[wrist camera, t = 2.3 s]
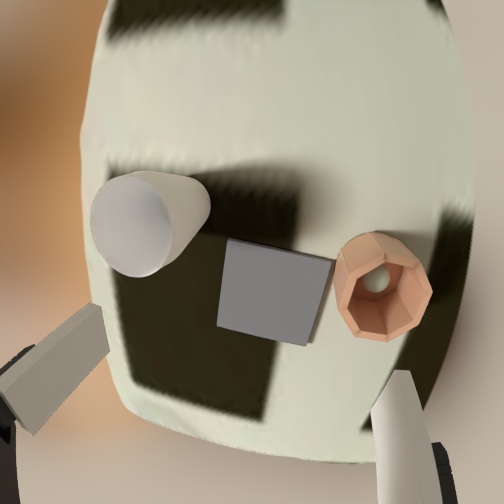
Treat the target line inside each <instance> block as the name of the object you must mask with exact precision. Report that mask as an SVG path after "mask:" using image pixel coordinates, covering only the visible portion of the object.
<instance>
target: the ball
mask: <svg viewBox="0 0 504 504" xmlns="http://www.w3.org/2000/svg"><path fill="white" fill-rule="evenodd" d="M389 281H390V274H389V271H388V269H387V268H386V267H385V266H384V265H382V264H381V265H379V266H378V267H376V268H374V269H373V270H371V271H369V272H368V273H366V274H364V275H363V276H362V283H363V285H364V287H365V288H366V289H367V290H369V291H371V292H381V291H383V290H384V289H385V288H386V287H387V286H388V284H389Z"/></svg>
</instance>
